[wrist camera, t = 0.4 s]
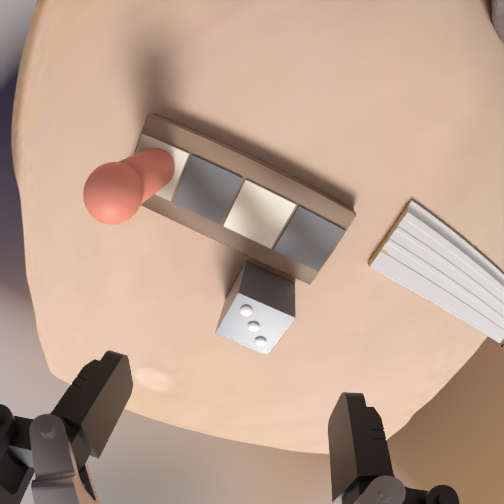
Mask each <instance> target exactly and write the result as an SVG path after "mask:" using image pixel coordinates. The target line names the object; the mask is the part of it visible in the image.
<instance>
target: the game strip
mask: <svg viewBox="0 0 504 504" xmlns="http://www.w3.org/2000/svg"><path fill="white" fill-rule="evenodd" d="M150 148H161V149H163V150H165V151H167V152H168V153H169V154H170V155H171V157H172V158H173V161H174V164H175V173H174V176H173V178H172V180H171V181H170V182H169V183H168V184H167V185H165V186H164V187H163V188H162V189H160V190H159V191H158V192H156V193H155V194H154V195H153V196H151V197H150V198H149V199H147V200H146V201H145V202H144V203H142V204H141V205H142V206H144V207H146V208H148V209H150V210H152V211H154V212H157V213H159V214H161V215H163V216H165V217H167V218H169V219H171V220H173V221H176V222H178V223H180V224H182V225H184V226H186V227H188V228H190V229H192V230H195V231H197V232H199V233H201V234H203V235H205V236H207V237H209V238H211V239H214V240H216V241H218V242H220V243H222V244H224V245H226V246H228V247H231V248H233V249H235V250H237V251H239V252H241V253H243V254H245V255H248V256H250V257H252V258H254V259H256V260H258V261H260V262H263V263H265V264H267V265H269V266H271V267H273V268H275V269H277V270H280V271H282V272H284V273H286V274H288V275H290V276H292V277H295V278H297V279H299V280H301V281H303V282H305V283H307V284H311V283H312V281H313V280H314V278H315V277H316V275H317V274H318V272H319V271H320V270H321V268H322V267H323V265H324V264H325V262H326V261H327V259H328V258H329V256H330V255H331V253H332V252H333V250H334V249H335V247H336V246H337V244H338V243H339V241H340V240H341V238H342V237H343V235H344V234H345V232H346V231H347V229H348V227H349V226H350V224H351V223H352V221H353V220H354V218H355V217H356V213H355V211H354V210H353V209H352V208H350V207H348V206H346V205H345V204H343V203H341V202H339V201H338V200H336V199H334V198H332V197H330V196H328V195H327V194H325V193H323V192H321V191H319V190H317V189H316V188H314V187H312V186H310V185H308V184H306V183H304V182H302V181H300V180H298V179H297V178H295V177H293V176H291V175H289V174H287V173H285V172H283V171H281V170H279V169H277V168H275V167H273V166H271V165H269V164H267V163H265V162H263V161H261V160H259V159H256V158H254V157H252V156H250V155H248V154H246V153H244V152H242V151H240V150H237V149H235V148H233V147H231V146H229V145H226V144H224V143H222V142H220V141H218V140H215V139H213V138H211V137H208V136H206V135H204V134H202V133H199V132H197V131H195V130H192V129H190V128H187V127H185V126H183V125H180V124H178V123H175V122H173V121H170V120H168V119H165V118H163V117H160V116H158V115H155V114H152V115H148V116H147V119H146V122H145V124H144V127H143V130H142V133H141V136H140V139H139V141H138V144H137V147H136V150H135V153H134V155H135V154H138V153H140V152H143V151H145V150H147V149H150Z"/></svg>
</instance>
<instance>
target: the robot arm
mask: <svg viewBox="0 0 504 504" xmlns="http://www.w3.org/2000/svg"><path fill="white" fill-rule="evenodd" d="M132 388H133V381H132V376H131V370H130V365H129V359H128V357H127V355H123V354H120V353H116V352H113V351H107V352H106V353H105V354H104V356H103V357H102V359H101V360H100V361H98V360H95V359H94V360H93V361H91V362H90V363H88V364H87V365H85V366H84V367H83V368H82V370H81V371H80V373H79V374H78V375H77V378H75V380H74V381H73V382H72V385H70V387H69V388H68V389H67V391H66V392H65V394H64V395H63V397H62V398H61V400H60V401H59V403H58V404H57V405H56V407H55V409H54V410H53V411H52V412H51V413H50V414H43V415H40V416H38V417H36V418H35V419H28V418H23V417H18V416H13V414H12V413H11V411H10V410H9V408H8V407H6V406H4V405H1V404H0V504H20V502H21V500H22V498H23V496H24V493H25V491H26V489H27V487H28V485H29V483H30V480H31V478H32V476H33V474H34V472H35V475H36V479H35V480H33V481H32V483H31V488H32V493H33V498H34V502H35V504H100V503H99V500H98V497H97V494H96V491H95V489H94V486H93V483H92V479H91V476H90V473H89V469H88V466H87V463H86V461H87V459H88V457H89V455H91V456H94V457H96V458H99V457H100V455H101V453H102V451H103V449H104V447H105V445H106V443H107V441H108V438H109V437H110V435H111V433H112V431H113V429H114V427H115V425H116V423H117V421H118V419H119V417H120V415H121V413H122V411H123V409H124V407H125V405H126V403H127V401H128V400H129V398H130V396H131V393H132ZM383 429H384V428H383V424H382V419H381V417H380V415H379V414H378V413H377V411H376V410H375V408H374V407H366V403H365V398H364V395H363V394H362V393H346V392H343V393H342V394H341V396H340V398H339V400H338V402H337V404H336V406H335V408H334V410H333V412H332V414H331V416H330V419H329V423H328V437H329V450H330V465H331V482H332V501H333V502H342V504H459V499H458V496H457V493H456V492H455V490H454V489H453V488H451V487H450V486H447V485H438V486H436V487H434V488H432V489H431V490H430V491H424V490H417V489H411V488H407V487H405V486H404V485H403V483H402V482H401V481H400V480H399V479H397V478H395V476H394V474H393V470H392V465H391V461H390V455H389V450H388V446H387V441H386V440H385V439H386V437H385V432H384V431H383Z"/></svg>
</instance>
